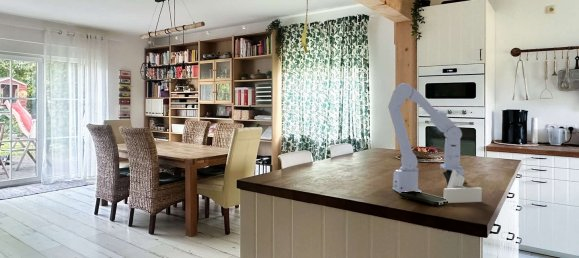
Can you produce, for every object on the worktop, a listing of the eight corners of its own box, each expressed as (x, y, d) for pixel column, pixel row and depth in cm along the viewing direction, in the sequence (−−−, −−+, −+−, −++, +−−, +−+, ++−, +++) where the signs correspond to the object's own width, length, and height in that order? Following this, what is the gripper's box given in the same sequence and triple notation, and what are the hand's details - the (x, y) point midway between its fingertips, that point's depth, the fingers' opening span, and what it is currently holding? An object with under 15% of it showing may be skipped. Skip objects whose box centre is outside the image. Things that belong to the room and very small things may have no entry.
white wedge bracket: (439, 186, 146) (453, 168, 145) (452, 195, 151) (465, 178, 150) (445, 191, 143) (460, 173, 142) (459, 200, 148) (472, 183, 147)
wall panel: (445, 202, 136) (445, 189, 136) (442, 201, 138) (443, 188, 137) (481, 201, 138) (481, 188, 137) (478, 200, 139) (478, 187, 139)
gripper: (472, 158, 143) (471, 193, 144) (451, 153, 157) (450, 185, 158) (455, 158, 142) (454, 193, 143) (435, 153, 156) (434, 185, 157)
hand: (451, 189), depth 150 cm, fingers closed
